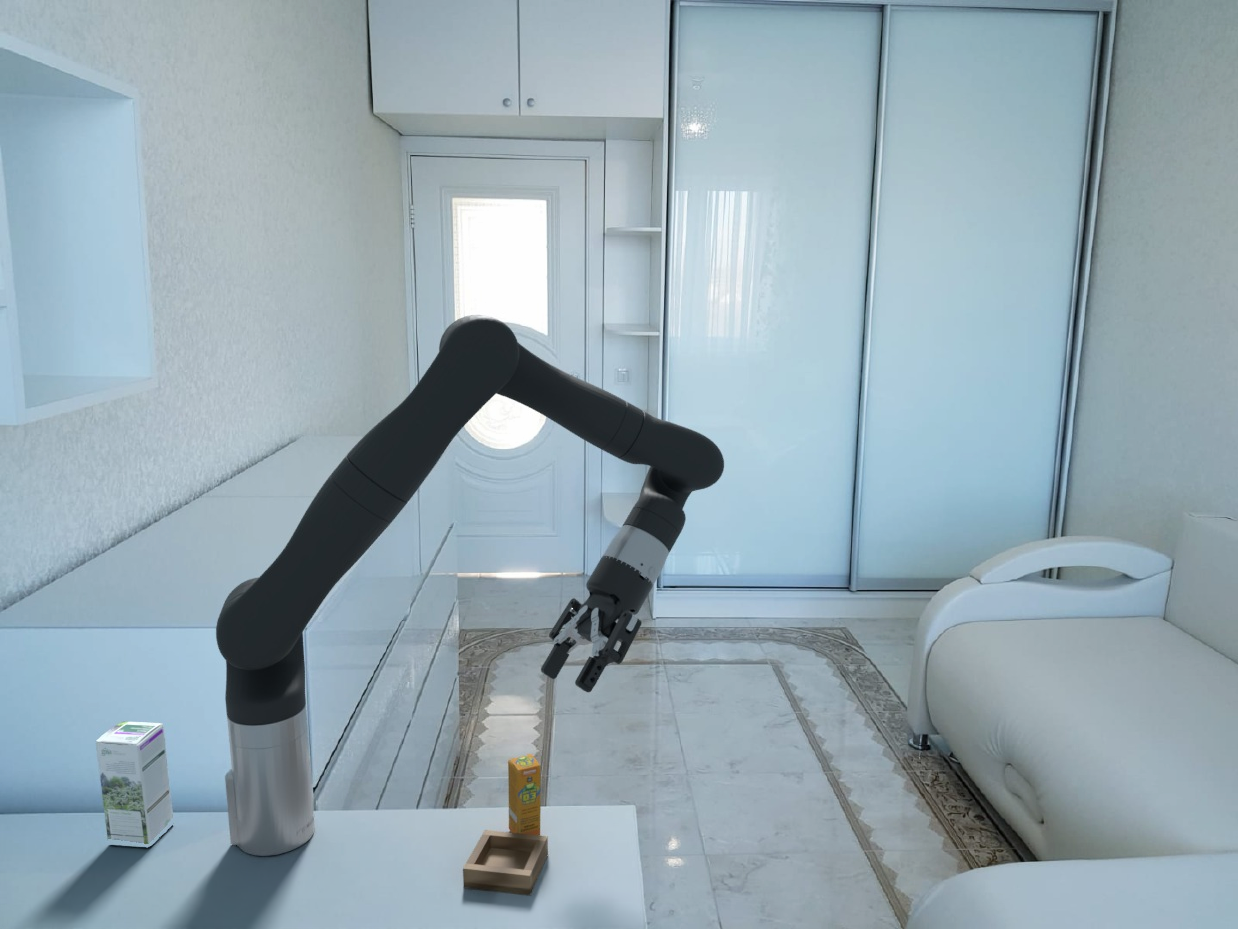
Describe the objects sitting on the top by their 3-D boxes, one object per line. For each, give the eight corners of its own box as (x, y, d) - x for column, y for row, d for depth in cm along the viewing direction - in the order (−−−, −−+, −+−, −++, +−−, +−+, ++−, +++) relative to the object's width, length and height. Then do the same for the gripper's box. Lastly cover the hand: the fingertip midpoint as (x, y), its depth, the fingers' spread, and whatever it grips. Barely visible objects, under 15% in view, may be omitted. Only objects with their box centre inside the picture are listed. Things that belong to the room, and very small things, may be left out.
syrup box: (176, 824, 123) (165, 720, 120) (148, 851, 117) (137, 742, 114) (135, 822, 123) (123, 718, 121) (105, 848, 118) (93, 740, 115)
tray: (463, 888, 110) (462, 868, 109) (485, 848, 117) (484, 829, 117) (530, 895, 108) (529, 875, 108) (547, 854, 116) (547, 836, 115)
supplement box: (518, 843, 118) (516, 770, 116) (508, 830, 121) (506, 758, 119) (542, 836, 120) (541, 763, 118) (532, 823, 123) (530, 752, 121)
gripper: (579, 549, 125) (515, 657, 119) (640, 558, 113) (571, 678, 108) (618, 580, 128) (557, 686, 123) (681, 591, 116) (616, 709, 111)
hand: (564, 682), depth 115 cm, fingers open, 8 cm apart
